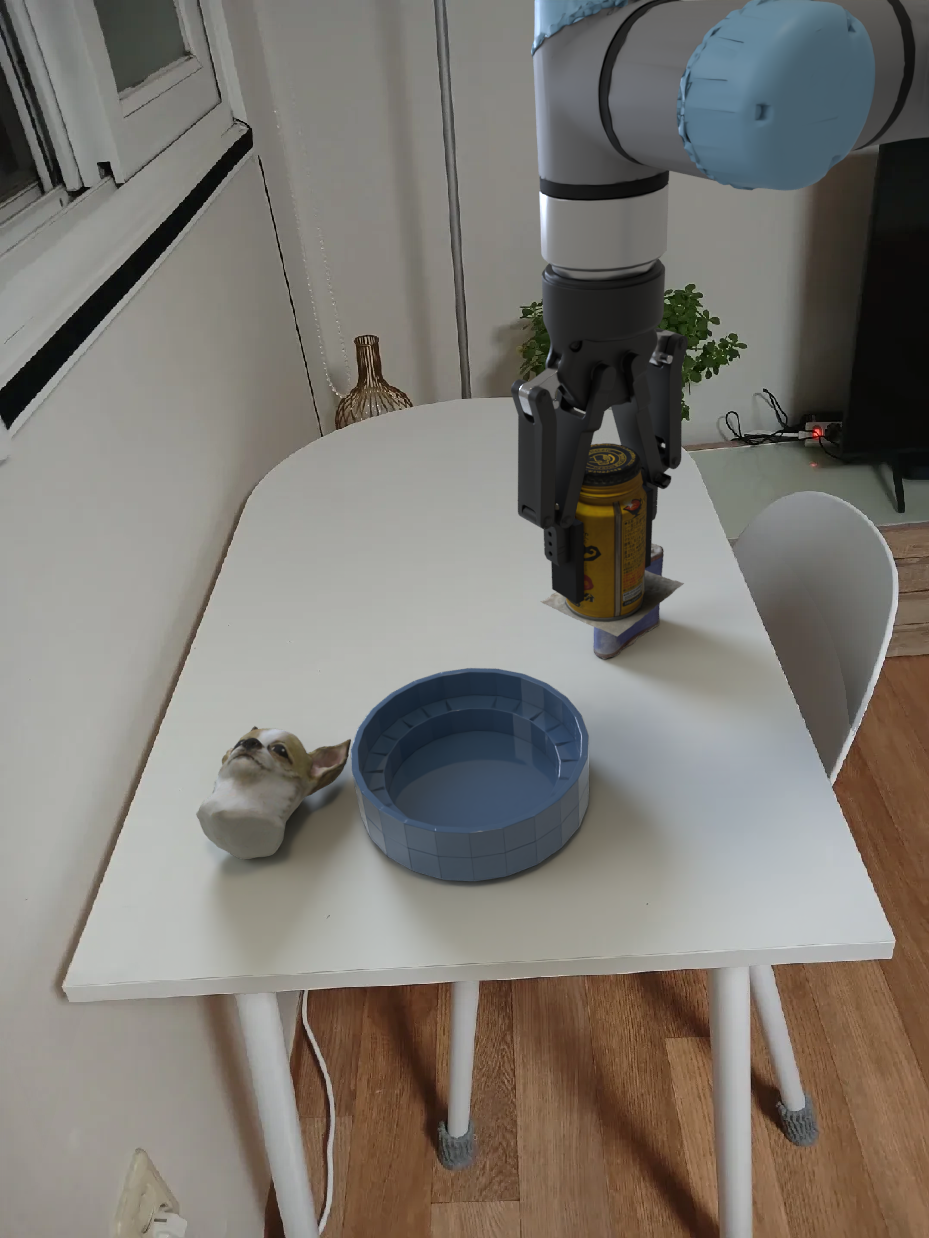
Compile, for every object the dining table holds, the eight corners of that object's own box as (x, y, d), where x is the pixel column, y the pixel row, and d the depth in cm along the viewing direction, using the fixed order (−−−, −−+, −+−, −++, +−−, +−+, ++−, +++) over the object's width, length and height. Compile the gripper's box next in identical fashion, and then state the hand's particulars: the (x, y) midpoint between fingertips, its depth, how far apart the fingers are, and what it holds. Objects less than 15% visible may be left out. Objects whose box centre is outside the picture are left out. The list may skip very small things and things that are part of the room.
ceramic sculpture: (146, 788, 72) (236, 674, 84) (171, 869, 76) (254, 750, 88) (275, 809, 69) (349, 688, 81) (293, 892, 74) (361, 765, 86)
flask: (607, 663, 93) (607, 571, 87) (584, 651, 95) (583, 560, 89) (666, 621, 98) (670, 531, 92) (643, 610, 100) (646, 521, 94)
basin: (637, 800, 78) (639, 747, 75) (451, 929, 70) (443, 876, 66) (492, 690, 91) (487, 640, 88) (320, 787, 83) (307, 736, 79)
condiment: (540, 604, 73) (533, 462, 66) (608, 556, 78) (608, 419, 71) (617, 639, 69) (618, 491, 62) (684, 587, 73) (692, 444, 66)
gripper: (667, 219, 65) (655, 515, 78) (440, 287, 56) (471, 606, 70) (755, 236, 60) (726, 549, 73) (520, 314, 51) (536, 652, 65)
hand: (601, 576), depth 72 cm, fingers closed on condiment, 6 cm apart
